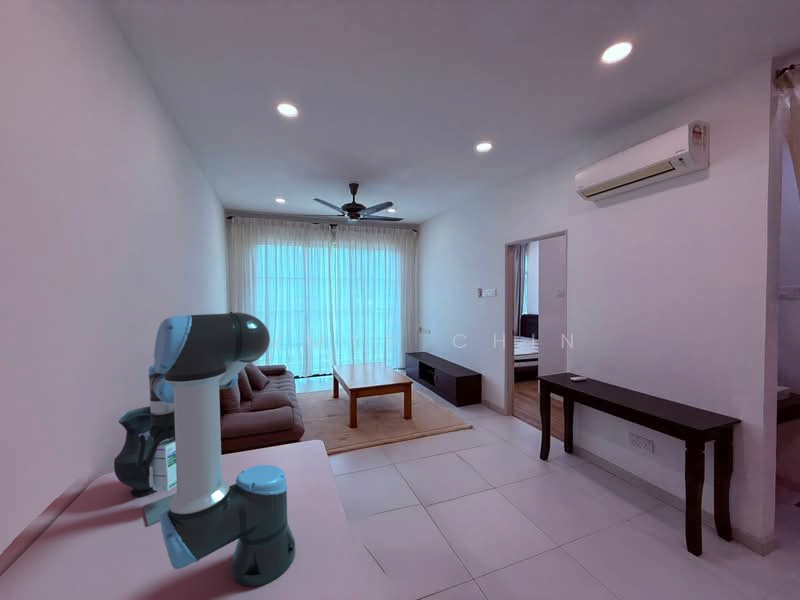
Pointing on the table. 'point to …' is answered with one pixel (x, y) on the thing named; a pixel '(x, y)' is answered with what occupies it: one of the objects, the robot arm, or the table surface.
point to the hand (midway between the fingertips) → (167, 479)
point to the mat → (156, 510)
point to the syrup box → (164, 466)
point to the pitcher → (134, 451)
